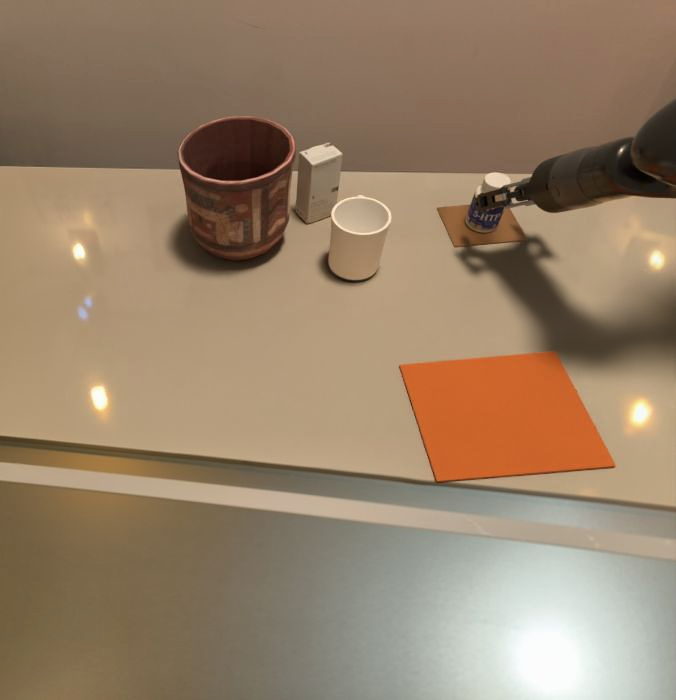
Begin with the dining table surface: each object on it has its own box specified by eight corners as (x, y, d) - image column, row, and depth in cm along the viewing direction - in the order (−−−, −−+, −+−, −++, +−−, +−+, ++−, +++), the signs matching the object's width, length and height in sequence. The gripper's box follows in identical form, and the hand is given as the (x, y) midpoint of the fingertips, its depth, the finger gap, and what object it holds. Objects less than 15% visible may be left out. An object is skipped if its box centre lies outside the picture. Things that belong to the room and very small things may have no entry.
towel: (554, 352, 86) (555, 351, 86) (614, 467, 75) (616, 465, 74) (399, 366, 86) (399, 364, 86) (436, 482, 75) (436, 481, 75)
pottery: (276, 282, 98) (279, 191, 84) (174, 264, 102) (161, 173, 88) (301, 213, 108) (307, 121, 94) (207, 199, 112) (200, 108, 98)
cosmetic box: (307, 225, 106) (311, 166, 96) (294, 211, 108) (297, 151, 99) (337, 213, 107) (344, 154, 98) (323, 200, 110) (329, 140, 100)
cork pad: (505, 202, 106) (505, 201, 106) (527, 240, 100) (527, 239, 100) (436, 208, 106) (437, 207, 106) (454, 247, 100) (455, 245, 100)
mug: (381, 286, 96) (392, 236, 88) (324, 282, 97) (330, 233, 89) (380, 239, 102) (390, 189, 94) (327, 236, 104) (332, 187, 96)
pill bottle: (465, 231, 102) (480, 188, 95) (464, 211, 105) (479, 168, 98) (498, 235, 101) (516, 191, 94) (497, 215, 104) (514, 171, 97)
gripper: (622, 141, 80) (541, 166, 96) (522, 161, 79) (457, 183, 95) (629, 198, 81) (548, 213, 97) (531, 219, 79) (465, 231, 95)
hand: (503, 198), depth 96 cm, fingers open, 8 cm apart
